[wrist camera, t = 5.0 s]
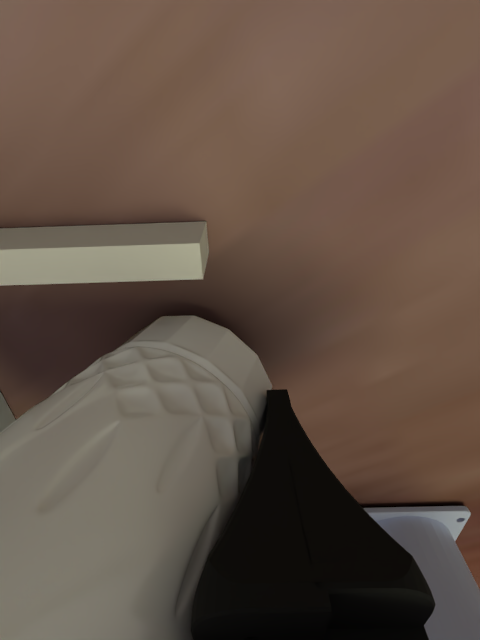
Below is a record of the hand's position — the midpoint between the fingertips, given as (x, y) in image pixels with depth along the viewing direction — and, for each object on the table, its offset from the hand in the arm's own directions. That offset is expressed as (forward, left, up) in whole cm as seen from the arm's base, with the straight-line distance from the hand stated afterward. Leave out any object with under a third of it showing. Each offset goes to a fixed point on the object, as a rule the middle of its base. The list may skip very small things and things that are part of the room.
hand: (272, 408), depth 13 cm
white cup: (0, +3, -2) cm, 4 cm away
